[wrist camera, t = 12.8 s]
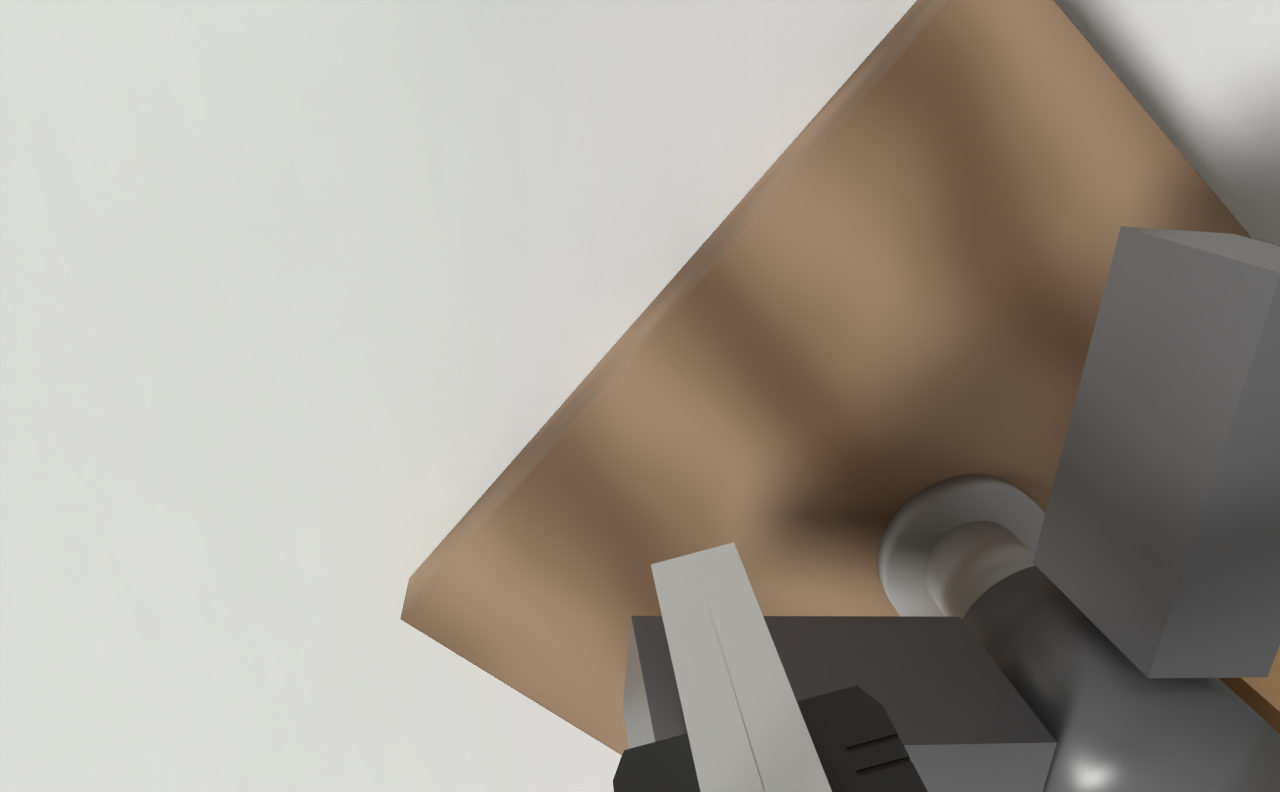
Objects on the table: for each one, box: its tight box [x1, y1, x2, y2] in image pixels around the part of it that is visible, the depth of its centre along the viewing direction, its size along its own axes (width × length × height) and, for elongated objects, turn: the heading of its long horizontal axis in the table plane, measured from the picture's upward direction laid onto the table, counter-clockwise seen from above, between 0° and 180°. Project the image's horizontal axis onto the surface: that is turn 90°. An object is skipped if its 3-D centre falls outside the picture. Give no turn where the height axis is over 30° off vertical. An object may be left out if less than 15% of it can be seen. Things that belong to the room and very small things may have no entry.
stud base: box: [401, 0, 1252, 755], centre depth 25 cm, size 22×22×6 cm
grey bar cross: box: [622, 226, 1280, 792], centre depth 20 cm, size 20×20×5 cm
